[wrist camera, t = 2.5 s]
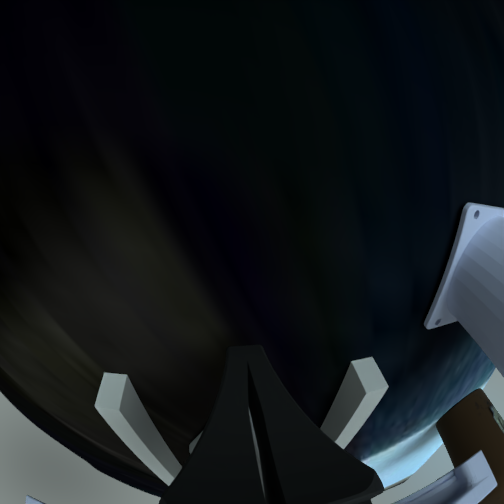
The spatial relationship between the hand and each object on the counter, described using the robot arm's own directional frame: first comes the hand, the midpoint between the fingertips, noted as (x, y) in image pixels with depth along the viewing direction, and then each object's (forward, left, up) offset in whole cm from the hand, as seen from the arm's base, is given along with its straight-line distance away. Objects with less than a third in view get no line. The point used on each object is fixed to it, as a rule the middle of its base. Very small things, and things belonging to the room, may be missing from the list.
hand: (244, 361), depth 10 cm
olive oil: (-34, +25, -2) cm, 42 cm away
